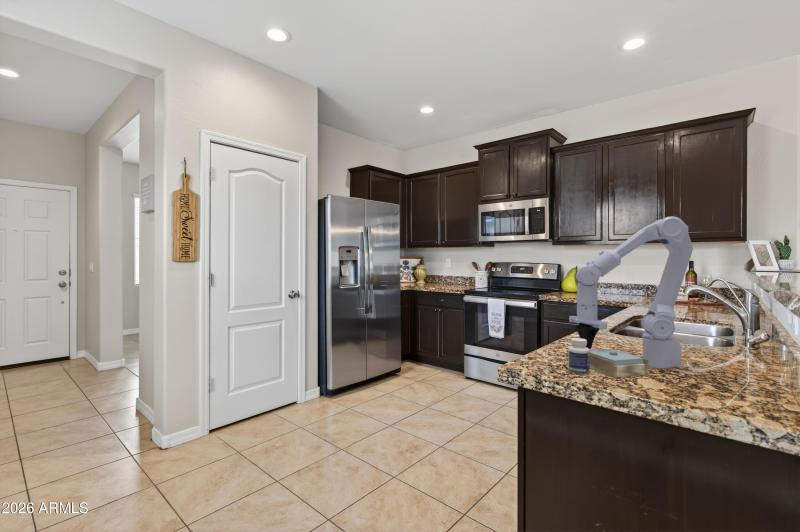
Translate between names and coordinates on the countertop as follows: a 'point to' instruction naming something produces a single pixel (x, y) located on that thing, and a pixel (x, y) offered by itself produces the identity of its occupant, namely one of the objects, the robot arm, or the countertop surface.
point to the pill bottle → (578, 356)
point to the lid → (617, 357)
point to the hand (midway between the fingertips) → (587, 348)
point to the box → (617, 367)
